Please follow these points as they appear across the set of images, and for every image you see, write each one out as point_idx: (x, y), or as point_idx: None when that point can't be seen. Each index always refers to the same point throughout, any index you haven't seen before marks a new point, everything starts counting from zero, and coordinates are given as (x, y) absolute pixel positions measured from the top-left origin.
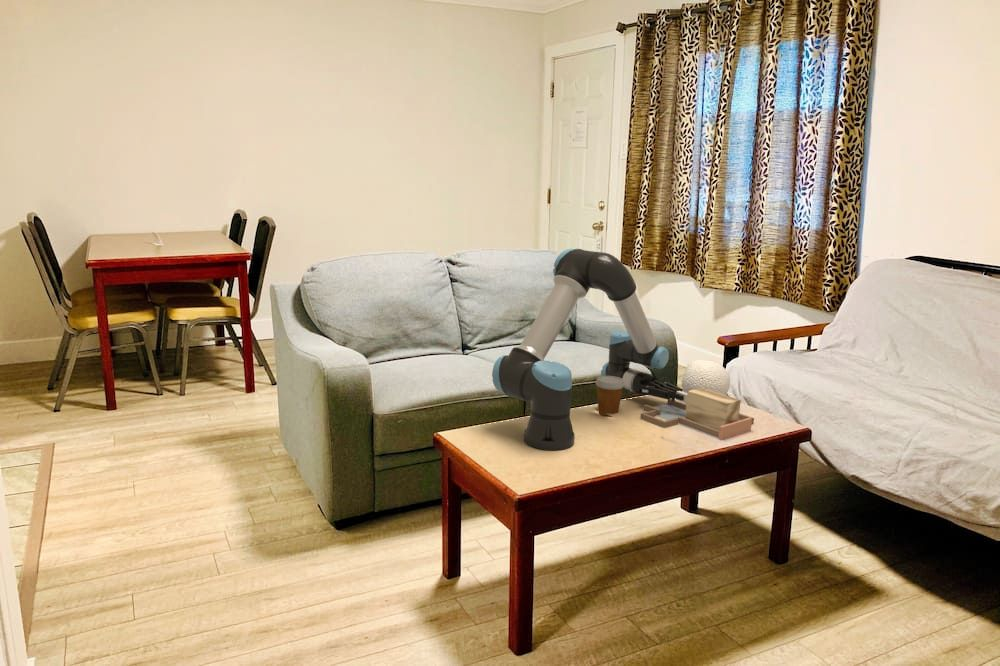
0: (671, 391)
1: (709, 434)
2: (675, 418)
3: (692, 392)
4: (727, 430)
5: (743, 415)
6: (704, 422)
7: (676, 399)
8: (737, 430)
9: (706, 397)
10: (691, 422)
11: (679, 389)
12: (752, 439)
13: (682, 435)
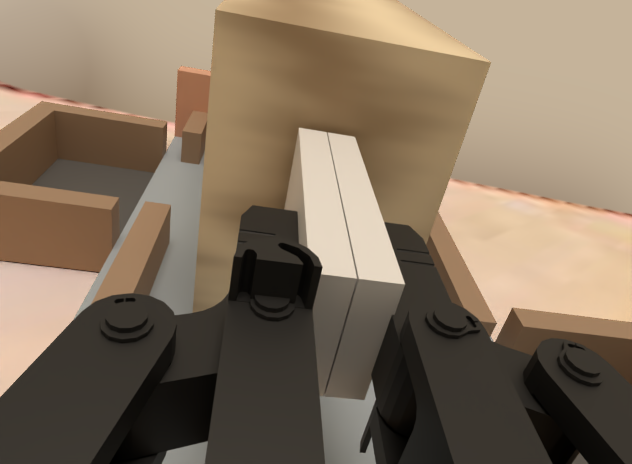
0: (488, 355)
1: None
2: (535, 321)
3: (463, 46)
4: None
5: (27, 125)
6: None
7: (363, 386)
8: None
9: (423, 19)
10: (452, 241)
11: (302, 258)
12: None
13: (525, 293)
